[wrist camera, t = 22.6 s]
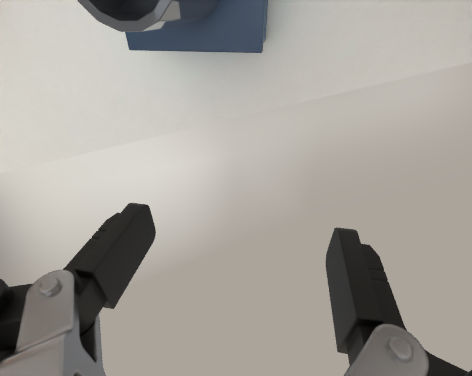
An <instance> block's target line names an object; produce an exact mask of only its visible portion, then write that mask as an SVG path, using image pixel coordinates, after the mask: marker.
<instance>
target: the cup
mask: <svg viewBox="0 0 472 376" xmlns="http://www.w3.org/2000/svg"><path fill="white" fill-rule="evenodd" d="M219 1H220V0H78V2H79V3H80V4H81V5H82V6H83V7H84V8H85V9H86V10H87V11H88V12H89V13H90V14H91V15H92V16H93V17H94V18H95V19H96V20H98V21H99V22H101V23H103V24H105V25H107V26H109V27H111V28H114V29H116V30H118V31H121V32H142V31H149V30H156V29H162V28H169V27H176V26H183V25H189V24H195V23H197V22H200V21H202V20H204V19H206V18H207V17H208V16H209V15H210V14H211V13H212V12H213V11H214V10H215V8H216V7H217V5H218V3H219Z"/></svg>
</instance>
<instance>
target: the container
mask: <svg viewBox="0 0 472 376" xmlns="http://www.w3.org/2000/svg"><path fill="white" fill-rule="evenodd" d="M267 4H268V0H220V1H219V3H218V5H217V7H216V8H215V10H214V11H213V12H212V13H211V14H210V15H209V16H208V17H207V18H206V19H204V20H202V21H200V22H197V23H195V24H189V25H183V26H176V27H169V28H162V29H156V30H149V31H142V32H125V33H126V37H127V42H128V46H129V50H149V51H197V52H245V53H262V51H263V43H264V41H265V39H266V21H267Z"/></svg>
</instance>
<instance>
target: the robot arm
mask: <svg viewBox="0 0 472 376" xmlns="http://www.w3.org/2000/svg"><path fill="white" fill-rule="evenodd" d="M155 233H156V232H155V226H154V222H153V219H152V215H151V211H150V208H149V206H148V205H145V204H137V203H130V204H128V205H127V206H126V207H125V209H124V210H123V211H122V212H121V213H116V214H115V215H113V216H112V217H110V218H109V219H107V220H106V221H105V222H104V224H103V225H102V226H101V227H100V228H99V230H98V231H96V233H95V234H94V235H93V236H92V239H90V240H89V241H88V242H87V243H86V244H85V246H83V248H82V249H81V250H80V251H79V252H78V253H77V254H76V255H75V257H74V258H73V259H72V260H71V261H70V262H69V264H68V265H67V266H66V267H65V268H64V269H63V270H56V271H53V272H50V273H48V274H46V275H44V276H42V277H41V278H39V279H38V280H37V281H36V282H34V283H33V284H27V285H20V286H14V287H8V285H7V284H6V283H5V282H4V281H3V280H1V279H0V376H106V375H105V372H104V369H103V363H102V349H101V333H100V319H99V315H98V314H99V312H100V311H101V309H102V308H103V307H105V308H111V309H114V308H115V306H116V304H117V303H118V301H119V299H120V297H121V296H122V294H123V292H124V291H125V289H126V287H127V286H128V284H129V282H130V280H131V279H132V277H133V275H134V274H135V272H136V270H137V269H138V267H139V265H140V264H141V262H142V260H143V259H144V257H145V255H146V253H147V252H148V250H149V248H150V247H151V245H152V243H153V241H154V238H155ZM326 271H327V278H328V285H329V292H330V300H331V307H332V315H333V322H334V329H335V337H336V344H337V351H338V352H340V353H345V354H348V358H349V364H350V366H349V368H348V370H347V371H346V373H345V374H344V376H472V370H471V371H469V372H467V371H465V370H463V369H461V368H459V367H457V366H454V365H452V364H450V363H448V362H446V361H444V360H442V359H440V358H437V357H436V356H434V355H432V354H430V353H429V352H427V351H426V350H424V348H423V347H422V345H421V344H420V343H419V341H418V340H417V339H416V338H415V337H414V336H413V335H412V334H410V333H409V332H407V330H406V328H405V326H404V324H403V321H402V318H401V315H400V313H399V310H398V307H397V305H396V301H395V299H394V296H393V294H392V290H391V288H390V285H389V282H387V277H386V274H385V272H384V268H383V265H382V263H381V260H380V257H379V256H378V254H377V253H376V252H375V251H374V250H373V248H372V247H371V246H370V245H365V244H361V243H360V239H359V236H358V233H357V231H356V230H353V229H344V228H335V229H334V232H333V235H332V238H331V241H330V244H329V247H328V251H327V255H326Z"/></svg>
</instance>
